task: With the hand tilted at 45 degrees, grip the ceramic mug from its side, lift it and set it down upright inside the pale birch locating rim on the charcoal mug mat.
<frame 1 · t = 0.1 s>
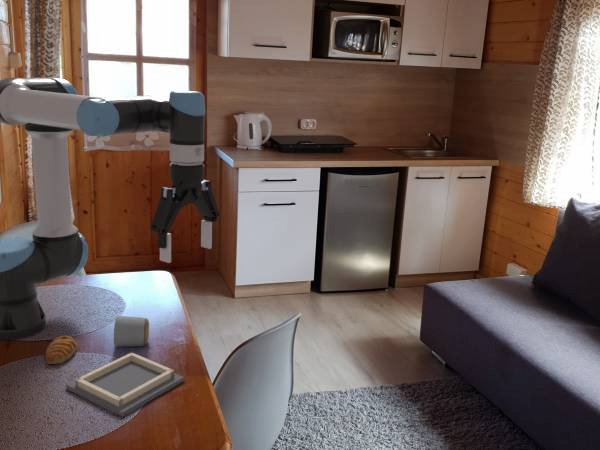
hand: (186, 254, 138), 28 cm above the table, tool pointing down, fingers open, 13 cm apart
pastry: (61, 356, 147), on the table
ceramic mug: (131, 343, 155), on the table
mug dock: (126, 384, 135), on the table
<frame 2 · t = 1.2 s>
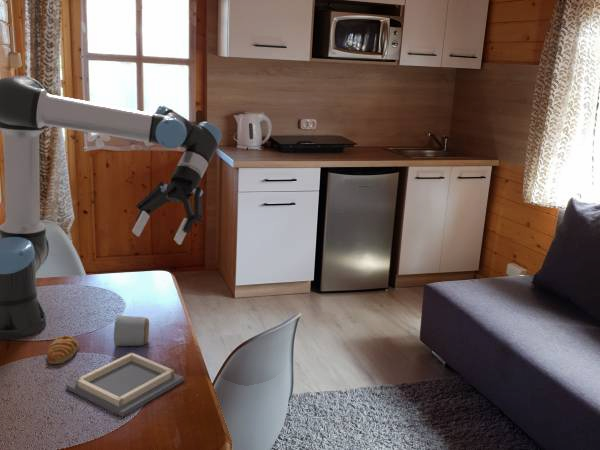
hand: (155, 238, 156), 26 cm above the table, tool tilted 45°, fingers open, 13 cm apart
nothing on the table moved.
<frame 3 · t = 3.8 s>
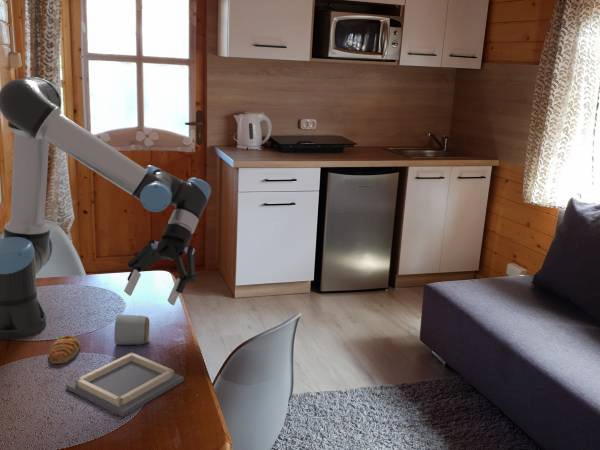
hand: (148, 298, 157), 10 cm above the table, tool tilted 45°, fingers open, 13 cm apart
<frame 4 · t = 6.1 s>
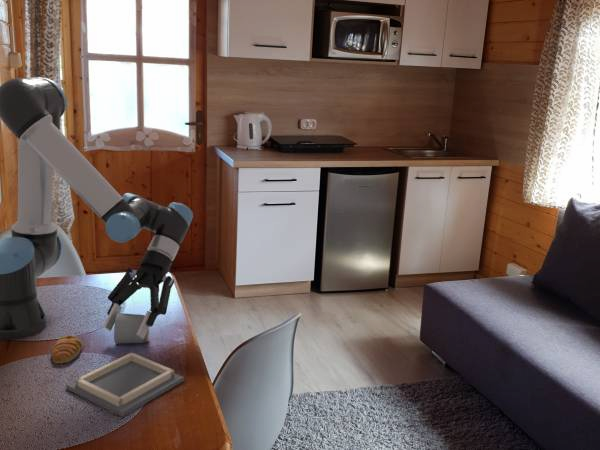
hand: (123, 332, 151), 4 cm above the table, tool tilted 45°, fingers closed on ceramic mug, 9 cm apart
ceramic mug: (131, 340, 157), on the table, touching gripper
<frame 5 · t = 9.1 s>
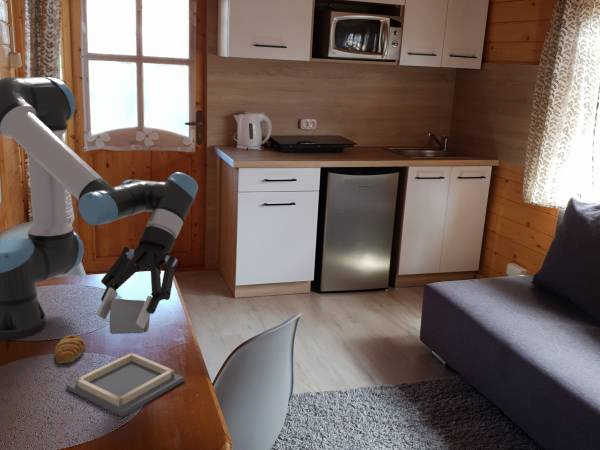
hand: (120, 321, 130), 16 cm above the table, tool tilted 45°, fingers closed on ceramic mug, 9 cm apart
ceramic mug: (129, 330, 135), point 12 cm above the table, touching gripper
when the fingers open (6 cm above the table, at t = 12.1 s): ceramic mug drops 1 cm, resting on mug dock.
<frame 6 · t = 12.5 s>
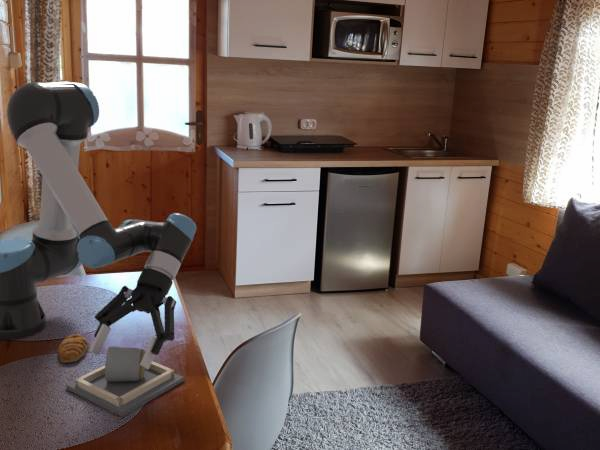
hand: (118, 360, 131), 7 cm above the table, tool tilted 45°, fingers open, 13 cm apart
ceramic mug: (125, 377, 137), point 1 cm above the table, touching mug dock
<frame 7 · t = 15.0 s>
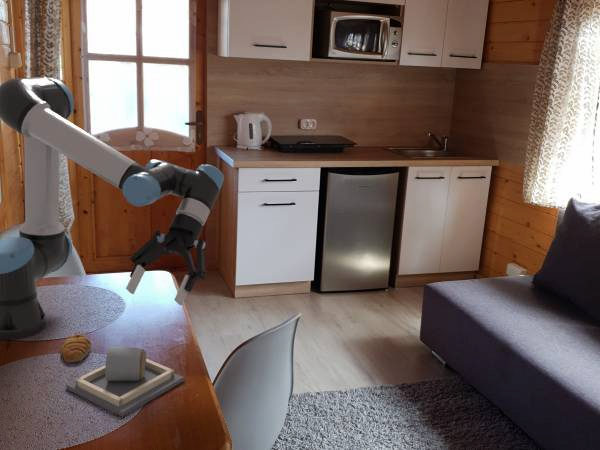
hand: (153, 297, 140), 17 cm above the table, tool tilted 45°, fingers open, 13 cm apart
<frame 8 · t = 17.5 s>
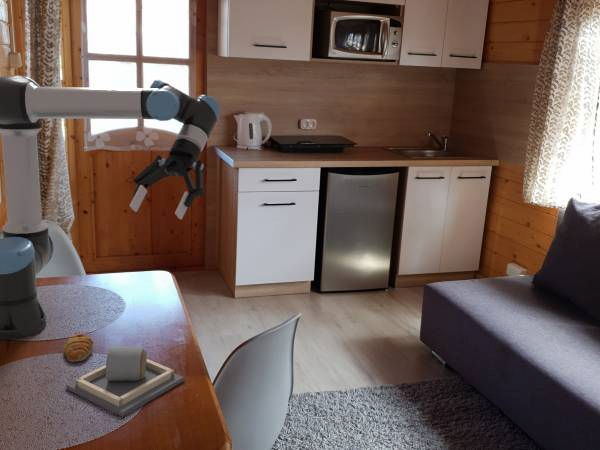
hand: (155, 212, 150), 34 cm above the table, tool tilted 45°, fingers open, 13 cm apart
at the end: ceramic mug 2.3 cm off-centre on the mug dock, point 0.8 cm above the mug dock's base; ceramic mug tilted 1°; the gripper is holding nothing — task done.
